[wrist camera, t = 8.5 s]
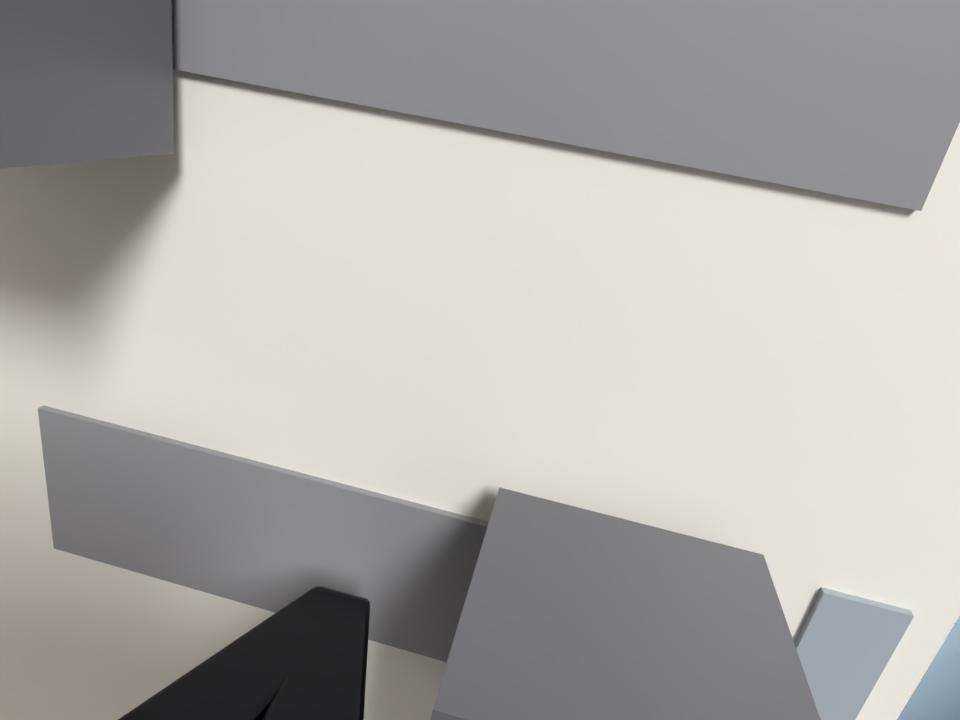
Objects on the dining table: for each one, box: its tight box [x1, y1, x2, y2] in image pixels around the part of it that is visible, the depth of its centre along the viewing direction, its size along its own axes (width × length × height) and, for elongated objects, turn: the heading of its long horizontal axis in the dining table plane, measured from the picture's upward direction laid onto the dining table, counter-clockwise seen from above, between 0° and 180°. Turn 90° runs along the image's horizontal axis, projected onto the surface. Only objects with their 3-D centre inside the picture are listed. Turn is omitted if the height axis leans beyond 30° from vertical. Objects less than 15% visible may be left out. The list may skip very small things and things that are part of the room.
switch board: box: [0, 0, 960, 720], centre depth 10 cm, size 14×24×2 cm, turn 171°
